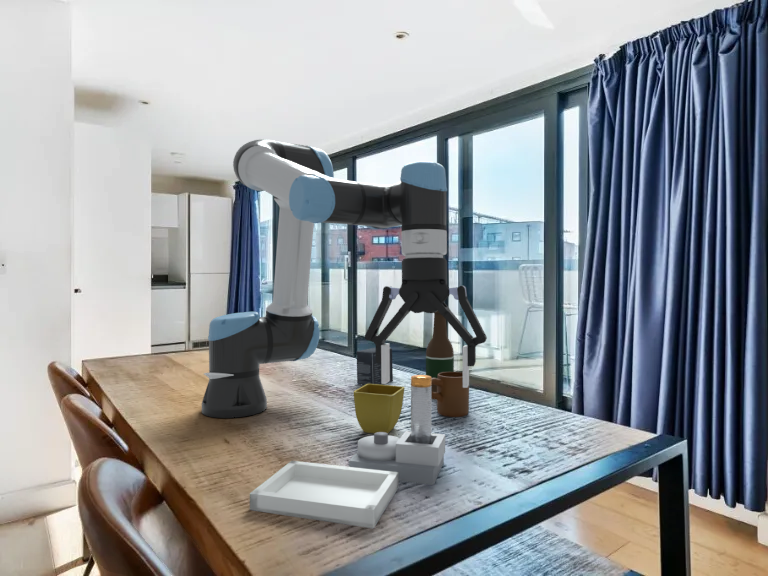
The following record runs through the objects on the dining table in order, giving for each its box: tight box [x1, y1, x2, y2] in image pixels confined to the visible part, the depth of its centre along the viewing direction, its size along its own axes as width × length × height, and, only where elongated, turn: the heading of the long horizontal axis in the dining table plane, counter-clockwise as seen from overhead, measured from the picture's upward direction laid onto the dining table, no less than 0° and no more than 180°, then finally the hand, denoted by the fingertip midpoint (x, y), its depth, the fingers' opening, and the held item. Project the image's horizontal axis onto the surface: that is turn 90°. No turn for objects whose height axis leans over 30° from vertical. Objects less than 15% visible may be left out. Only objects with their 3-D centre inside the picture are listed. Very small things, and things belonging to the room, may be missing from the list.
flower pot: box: [352, 384, 406, 434], centre depth 106 cm, size 9×9×9 cm
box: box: [356, 347, 394, 386], centre depth 154 cm, size 11×7×10 cm, turn 144°
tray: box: [249, 460, 399, 529], centre depth 73 cm, size 18×13×2 cm
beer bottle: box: [425, 311, 455, 392], centre depth 138 cm, size 8×8×24 cm
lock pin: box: [410, 374, 432, 444], centre depth 84 cm, size 3×3×13 cm
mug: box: [431, 371, 470, 418], centre depth 119 cm, size 12×8×9 cm, turn 121°
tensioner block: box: [348, 430, 446, 486], centre depth 85 cm, size 14×10×6 cm
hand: (424, 384), depth 84 cm, fingers open, 13 cm apart
